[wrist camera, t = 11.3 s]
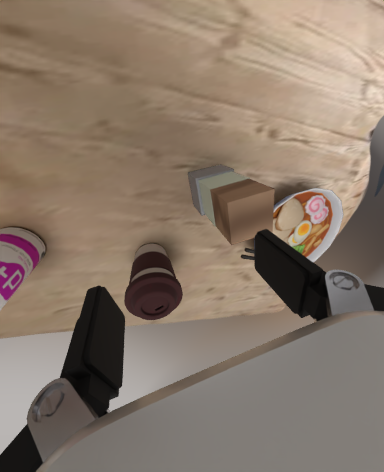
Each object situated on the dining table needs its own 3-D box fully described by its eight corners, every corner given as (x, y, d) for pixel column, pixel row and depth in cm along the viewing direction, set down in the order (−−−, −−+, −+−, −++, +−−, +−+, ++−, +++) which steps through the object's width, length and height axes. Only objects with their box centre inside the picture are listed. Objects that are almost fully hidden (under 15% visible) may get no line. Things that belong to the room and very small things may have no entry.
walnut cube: (210, 189, 25) (227, 202, 20) (248, 178, 26) (274, 188, 21) (215, 225, 29) (231, 245, 23) (249, 215, 29) (272, 231, 24)
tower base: (187, 172, 35) (195, 178, 30) (220, 164, 36) (233, 169, 31) (193, 205, 39) (201, 215, 34) (223, 197, 40) (235, 206, 35)
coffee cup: (128, 237, 39) (123, 286, 26) (173, 237, 42) (188, 282, 29) (129, 273, 43) (124, 329, 30) (169, 271, 46) (180, 323, 33)
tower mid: (198, 180, 30) (209, 189, 25) (231, 171, 31) (249, 178, 26) (204, 212, 34) (215, 226, 29) (234, 203, 34) (250, 215, 29)
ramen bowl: (335, 198, 48) (368, 208, 41) (287, 265, 56) (307, 283, 49) (266, 163, 38) (293, 169, 31) (220, 250, 47) (234, 270, 40)
